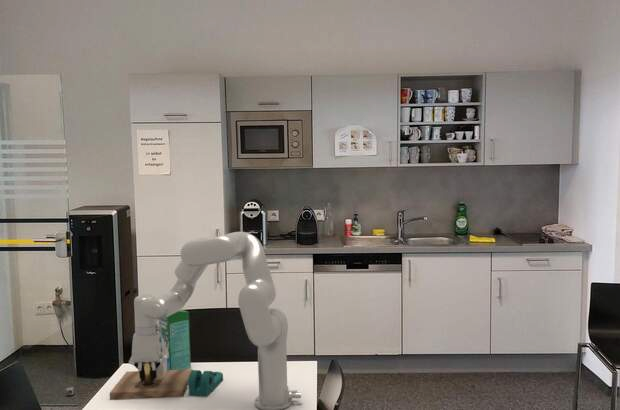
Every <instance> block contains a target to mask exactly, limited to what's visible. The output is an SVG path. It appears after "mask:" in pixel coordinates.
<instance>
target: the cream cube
mask: <svg viewBox="0 0 620 410" xmlns="http://www.w3.org/2000/svg"><path fill="white" fill-rule="evenodd" d="M164 357H165V358H166V362H165V363H163V364H161V365H159V366H158V368H157V369H156V373H157V377H164V376H165V374H166V372H167V356H164ZM160 360H161V359H160Z"/></svg>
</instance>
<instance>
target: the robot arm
mask: <svg viewBox="0 0 620 410" xmlns="http://www.w3.org/2000/svg"><path fill="white" fill-rule="evenodd" d="M237 258H241V264H242V273H243V276H244V280H245V283H246V285H244V286H243V287H242V288H241V290H240V291H239V294H238V300H237V301H238V302H237V303H238V308H239V310H240V315H241V318H242V321H243V325H244V328H245V332H246V335H247V338H248V340H249V341H250V342H251V343H252V344H253V345H254V346H256V347H257V370H258V372H257V374H258V396H256V398H254V406H255V407H256V408H257V409H259V410H284V409H286V408H289V407H291V405H292V404H293V399H301V398H302V392H300V391H299V392H298V390H296V389H294V390H291V389H289V386H288V367H287V365H288V360H287V359H288V358H287V357H288V356H287V344H288V343H287V342H288V341H287V339H288V331H289V327H288V326H289V324H288V319H287V316H286V315H285V313H284V312H283V311H282V310H280V309H277V308H270V307H269V306H270V305H272V303H273V302H275V300H276V298H277V297H276V296H277V291H276V288H275V287H276V286H275V283H274V280H273V277H272V273H271V270H270V267H269V264H268V261H267V257H266V254H265V250H264V247H263V244H262V243H261V241H260V240H259V238H257V237H256V236H255V235H253V234H251V233H248V232H245V231H234V232H229V233H226V234H223V235H219V236H215V237H209V238H208V237H198V238H196V239H195V238H194V239H191V240H189V241H187V242H185V243H184V244H183V246H182V247H181V249H180V259H181V260H180V261H179V263H178V264H177V266H176V268H175V269H174V275H175V276H176V278H177V280H176V281H175V284H174V285H173V287H172V288H171V290H170V291H168V293H165V294H164V295H161V296H159V297H156V296H155V295H153V294H140V295H137V296H136V297H134V300H133V301H134V302H133V306H134V331H135V332H134V333H133V336H132V343H131V356H130V358H129V360H128V364H130V365H132V366H134V368H136V369H137V371H139V377H140V379H141V382H143V381H144V370H143V362H151V364H152V370H151V381H152V382H153V381H154V380H155V378H156V377H157V373H156V369H157V368H158V366H159V365H161V364H163V363H165V362H166V358H165V357H164V355H163V349H162V341H161V335H160V332H158V330H161V326H158V319H164V318H167V317H169V316H170V315H172V314H174V313H176V312H178V311H180V310H181V309H182V310H183V308H184V307H185V305H186V303H187V302H188V301H189V299H190V298H191V297H192V295H193V294H194V291H195V288H196V284H197V282H198V280H199V279H200V278H201V276H202V275H203V273H204V272H205V270H206V269H207V268H208V266H209V265H215V264H219V263H220V264H221V263H226V262H230V261H232V260H235V259H237ZM160 359H161V360H160Z"/></svg>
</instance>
